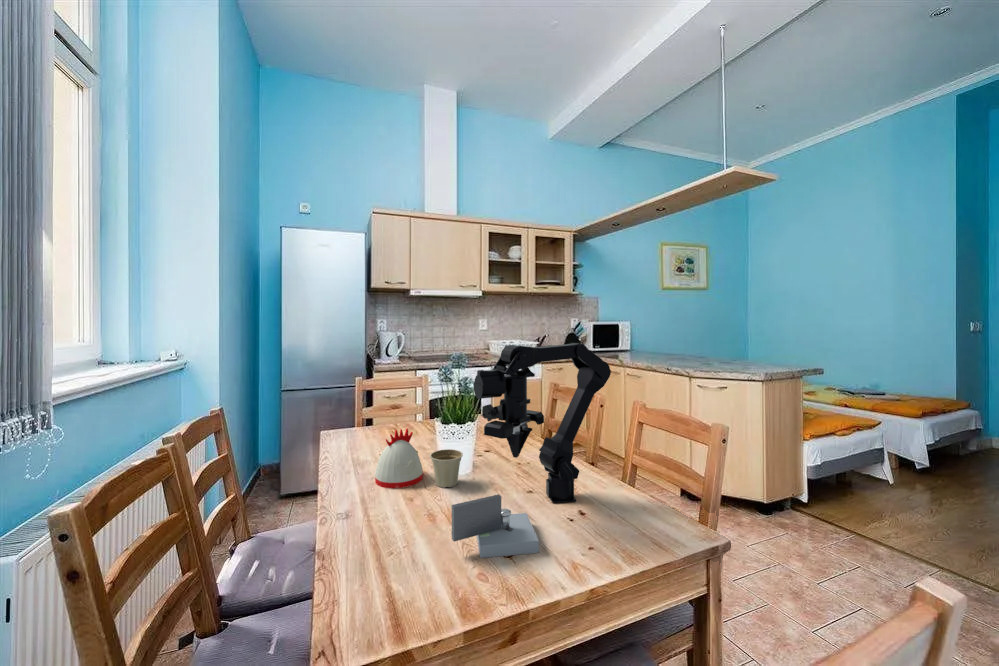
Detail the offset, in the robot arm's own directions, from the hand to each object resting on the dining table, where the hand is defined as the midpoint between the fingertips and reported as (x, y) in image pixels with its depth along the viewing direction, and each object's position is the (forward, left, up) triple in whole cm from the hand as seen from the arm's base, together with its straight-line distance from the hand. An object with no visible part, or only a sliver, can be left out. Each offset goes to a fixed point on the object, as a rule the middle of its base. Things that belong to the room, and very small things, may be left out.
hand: (515, 457), depth 102 cm
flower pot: (+17, -18, -13) cm, 28 cm away
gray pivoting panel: (+10, +16, -10) cm, 21 cm away
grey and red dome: (+31, -24, -13) cm, 41 cm away
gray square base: (+5, +14, -13) cm, 20 cm away
